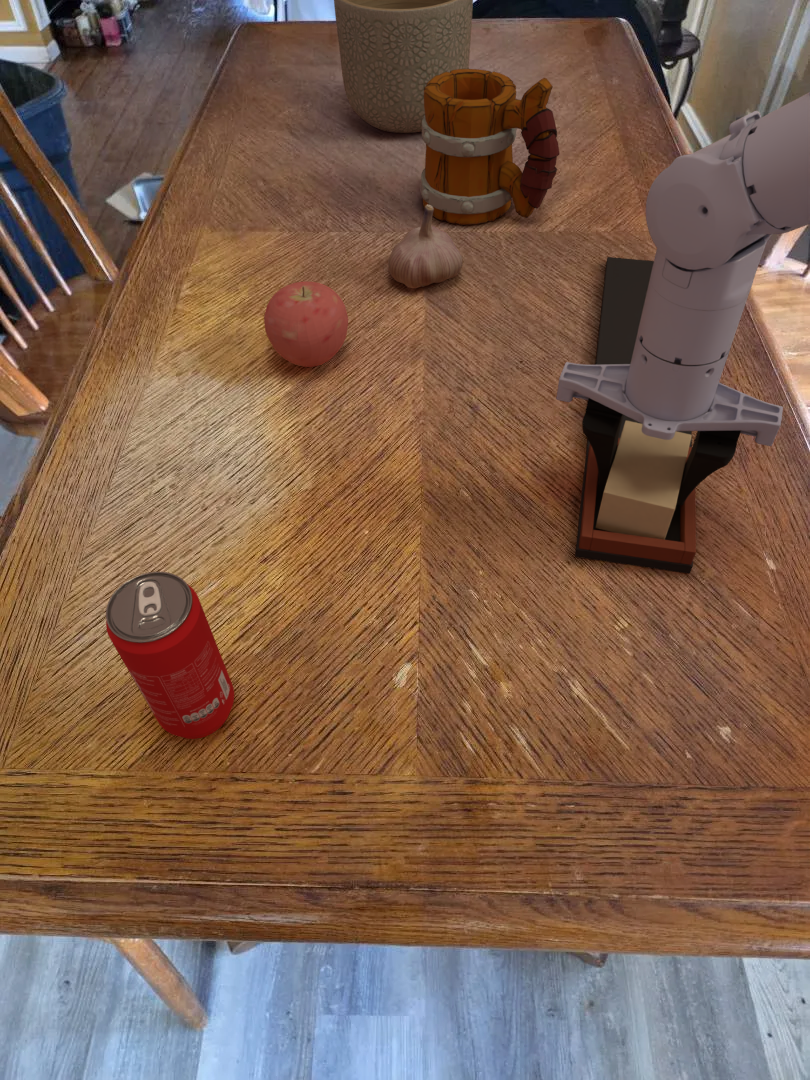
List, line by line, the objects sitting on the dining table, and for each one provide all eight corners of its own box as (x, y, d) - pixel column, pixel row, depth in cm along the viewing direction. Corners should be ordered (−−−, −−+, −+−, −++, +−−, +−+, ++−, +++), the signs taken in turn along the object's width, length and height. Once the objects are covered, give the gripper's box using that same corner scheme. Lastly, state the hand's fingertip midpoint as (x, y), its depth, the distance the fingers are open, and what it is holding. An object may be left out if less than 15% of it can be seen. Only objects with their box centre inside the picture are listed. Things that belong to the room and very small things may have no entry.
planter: (472, 91, 114) (476, -38, 102) (465, 147, 103) (469, 10, 91) (353, 90, 116) (344, -38, 104) (334, 145, 105) (321, 9, 93)
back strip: (687, 272, 84) (693, 250, 82) (689, 574, 60) (698, 553, 58) (605, 265, 86) (609, 243, 84) (574, 557, 61) (579, 536, 59)
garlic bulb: (472, 267, 86) (475, 195, 80) (444, 305, 82) (444, 231, 76) (408, 252, 88) (406, 180, 82) (377, 287, 84) (372, 214, 78)
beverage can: (162, 754, 52) (102, 655, 43) (156, 685, 55) (99, 579, 46) (242, 733, 53) (201, 632, 43) (231, 666, 56) (191, 558, 46)
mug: (449, 171, 100) (451, 34, 88) (570, 207, 93) (589, 65, 82) (399, 209, 94) (395, 69, 82) (524, 250, 88) (538, 105, 76)
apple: (366, 359, 77) (360, 284, 71) (304, 394, 74) (292, 319, 68) (319, 324, 80) (309, 251, 74) (258, 356, 77) (242, 283, 71)
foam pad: (679, 471, 64) (692, 434, 61) (662, 545, 60) (675, 509, 56) (616, 457, 65) (625, 419, 62) (595, 528, 61) (603, 491, 58)
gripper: (555, 352, 50) (534, 499, 61) (801, 402, 47) (734, 549, 57) (581, 290, 55) (557, 438, 65) (809, 331, 51) (745, 481, 61)
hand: (641, 486), depth 61 cm, fingers closed on foam pad, 5 cm apart
